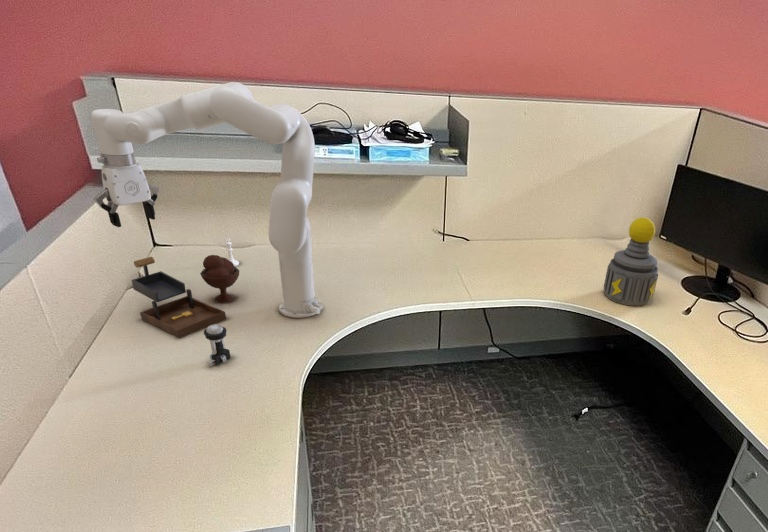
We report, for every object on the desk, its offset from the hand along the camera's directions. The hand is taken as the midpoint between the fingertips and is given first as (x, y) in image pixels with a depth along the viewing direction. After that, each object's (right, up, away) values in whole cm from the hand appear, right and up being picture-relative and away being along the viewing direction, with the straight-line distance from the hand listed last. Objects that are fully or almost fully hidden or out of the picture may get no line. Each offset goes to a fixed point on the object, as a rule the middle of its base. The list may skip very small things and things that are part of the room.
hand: (134, 222), depth 159 cm
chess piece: (+6, -5, +45) cm, 46 cm away
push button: (+29, -40, -9) cm, 50 cm away
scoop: (+2, -18, +8) cm, 20 cm away
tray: (+10, -27, +8) cm, 30 cm away
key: (+9, -26, +8) cm, 28 cm away
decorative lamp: (+152, -15, +53) cm, 161 cm away
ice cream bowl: (+15, -20, +21) cm, 33 cm away
